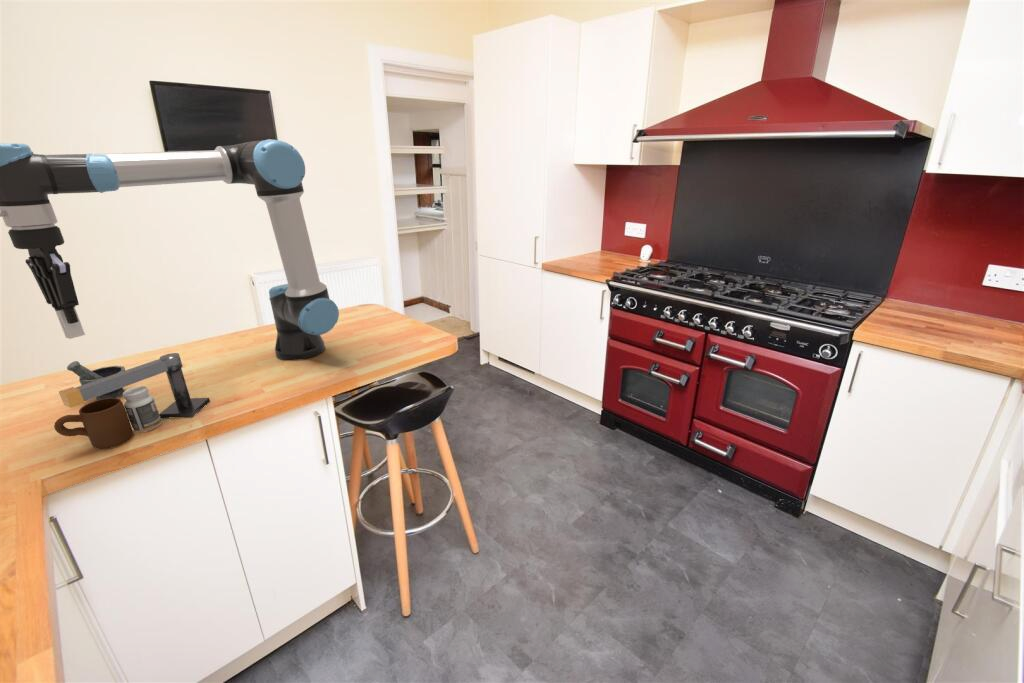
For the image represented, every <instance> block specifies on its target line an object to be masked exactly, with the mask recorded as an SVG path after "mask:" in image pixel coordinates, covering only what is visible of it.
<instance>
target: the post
mask: <svg viewBox="0 0 1024 683" xmlns="http://www.w3.org/2000/svg"><path fill="white" fill-rule="evenodd" d="M165 373H166V377H167V380H168V383H169V387H170V389H171V391H172V396H173V399H174V401H173V402H172V403H170V405H168V406H167V407H166V408H165V409H163V410H162V411H161V412H159V415H160V418H161V419H170V418H169V417H184V418H194V417H195V416H196V415H197V414H198V413H200V411H202V410H203V409H202V408H203V407H204V406H205V405H206V406H207V405H209V403H211V399H210V397H193V398H192V397H191V395H190V392H189V389H188V386H187V382H186V379H185V375H184V373H183V370H182V368H180V369H178V370H175V371H168V372H167V371H166V372H165ZM206 406H205V407H206ZM205 407H204V408H205ZM201 409H202V410H201ZM196 413H197V414H196ZM195 414H196V415H195ZM194 415H195V416H194ZM193 416H194V417H193Z"/></svg>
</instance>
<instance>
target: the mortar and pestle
mask: <svg viewBox="0 0 1024 683" xmlns="http://www.w3.org/2000/svg"><path fill="white" fill-rule="evenodd" d="M66 370H68V371H69V372H72V373H73V374H75V375H77V377H79V383H80V386H82V385H84V384H87V383H90V382H93V381H96V380H99V379H102V378H105V377H108V376H111V375H114V374H117V373H120V372H123V371H125V370H126V367H125V366H122V365H111V366H104V367H103V366H102V367H99V368H95V369H93V370H91V369H89V368H88V367H85V366H84V365H82V364H80V362H79V361H78V360H75V361H72V362H70V363H69V364H68V365H67V366H66ZM123 392H125V390H124V387H123V388H120V389H117V390H114V391H112V392H109V393H106V394H103V395H101V396H98V397H95V399H96V400H95V401H97V400H101V399H106V398H120V397H121V396H122V397H123Z"/></svg>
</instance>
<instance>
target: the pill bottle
mask: <svg viewBox="0 0 1024 683" xmlns="http://www.w3.org/2000/svg"><path fill="white" fill-rule="evenodd" d="M149 392H150V391H149V388H148V387H147V386H143V385H142V386H134V387H132V388H129V389H126V390H124V392H123V395H122V397H123V399H124V400H125V401H124V403H123V405H124V408H125V410H126V413H127V416H128V418H129V421H130V424H131V427H132V430H133V432H136V433H145V432H149V431H151V430H154V429H156V428H159V426H160V425H161V424H162V418H160V415H159V414H160V412H159V410H158V407H157V405H156V404H157V403H156V401H155V398H154V397H153V395H151V394H149Z"/></svg>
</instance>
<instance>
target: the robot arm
mask: <svg viewBox="0 0 1024 683" xmlns="http://www.w3.org/2000/svg"><path fill="white" fill-rule="evenodd" d="M305 175H306V164H305V160H304V158H303V157H302V155H301V154H300V152H299V151H298V150H297V148H296V147H294V146H293V145H291V144H289V142H288V143H287V142H285V141H283V140H278V139H270V138H268V139H265V140H264V139H263V140H252V141H251V140H250V141H248V142H243V143H237V144H231V145H218V146H216V147H215V149H214V150H187V151H185V150H183V151H179V150H178V151H156V152H155V151H152V152H150V151H148V152H147V151H146V152H121V153H119V152H118V153H95V154H93V153H81V154H80V153H79V154H77V153H74V154H72V153H71V154H69V153H67V154H38V153H34V152H33V151H32V149H31V147H30V146H29V145H28V144H26V143H8V142H7V143H3V142H2V143H1V142H0V218H2V220H3V222H4V225H5V226H6V227H8V228H11V229H8V232H7V233H8V236H9V238H10V240H11V243H12V245H13V247H14V248H16V249H18V250H27V252H28V255H29V256H28V258H27V259H25V264H26V265H27V266H28V268H29V270H30V271H31V273H32V275H33V277H34V280H35V281H36V283H37V285H38V287H39V290H40V291H41V293H42V295H43V297H44V299H45V302H46V304H48V305H51V307H52V308H53V309H54V311H55V313H56V317H57V319H58V321H59V324H60V327H61V328H62V331H63V333H64V336H65V338H67V339H69V340H71V339H75V338H79V337H82V336H86V333H85V331H84V328H83V326H82V323H81V321H80V318H79V315H78V313H77V310H76V307H77V306H79V305H80V304H79V300H78V296H77V293H76V288H75V285H74V284H75V283H74V281H73V277H72V272H71V265H70V262H68V261H64V260H63V257H62V255H61V254H59V252H58V250H57V249H56V247H57V246H61V245H64V243H65V239H64V236H63V233H62V231H61V228H60V227H59V226H57V225H56V224H57V223H58V218H57V216H56V213H55V211H54V208H53V206H52V205H53V204H52V203H51V201H50V199H49V196H48V195H59V194H84V193H87V194H88V193H90V194H91V193H99V194H100V193H101V194H103V193H105V192H117V191H118V190H119V188H128V187H142V186H143V187H145V186H146V187H147V186H159V185H173V184H174V185H175V184H187V183H204V182H218V181H223V182H224V183H226V184H227V185H229V184H230V185H231V184H232V185H233V184H243V185H244V184H245V185H254V189H255V192H256V195H257V198H259V199H260V200H262V201H263V202H264V203H265V204H266V205H265V206H266V208H267V211H268V215H269V220H270V223H271V227H272V230H273V233H274V238H275V240H276V244H277V248H278V251H279V256H280V259H281V263H282V268H283V270H284V273H285V274H284V275H285V277H286V281H287V283H285V284H278V285H276V286H273V287H271V288H270V289H269V290H268V295H269V298H268V299H269V302H270V305H271V309H272V310H271V311H272V315H273V319H274V324H275V328H276V340H275V347H274V351H275V352H274V353H275V357H276V358H278V359H279V360H282V361H299V360H301V361H302V360H307V359H310V358H313V357H317V356H318V355H320V354H322V353H323V352H324V351H325V350H326V347H325V346H326V345H325V341H324V339H323V337H322V335H324V334H328V333H330V331H332V330H333V329H334V327H335V325H336V324H337V323H338V321H339V317H340V312H339V307H338V306H337V304H336V303H335V301H333V299H330V296H329V292H328V291H329V290H328V287H327V285H326V284H325V283H323V282H322V281H320V278H319V273H318V270H317V269H318V268H317V264H316V260H315V256H314V252H313V248H312V244H311V239H310V236H309V231H308V228H307V224H306V223H307V222H306V219H305V216H304V210H303V207H302V204H301V197H302V196H303V194H304V193H305V191H304V190H305V189H304V185H303V180H304V178H305Z"/></svg>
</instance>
